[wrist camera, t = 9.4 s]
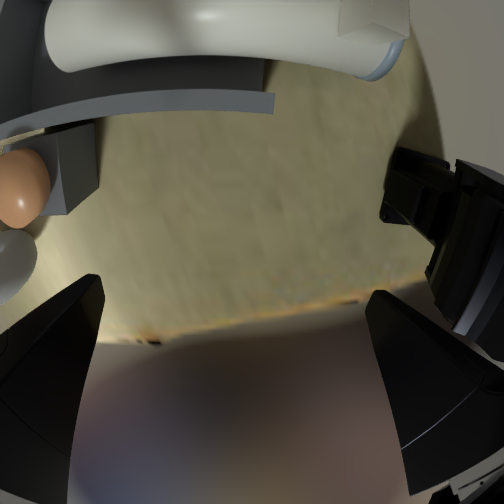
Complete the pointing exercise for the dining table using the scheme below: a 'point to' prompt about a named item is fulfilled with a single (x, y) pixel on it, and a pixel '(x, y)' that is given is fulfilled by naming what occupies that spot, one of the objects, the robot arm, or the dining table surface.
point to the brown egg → (22, 187)
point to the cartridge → (230, 32)
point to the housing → (102, 97)
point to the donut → (15, 261)
